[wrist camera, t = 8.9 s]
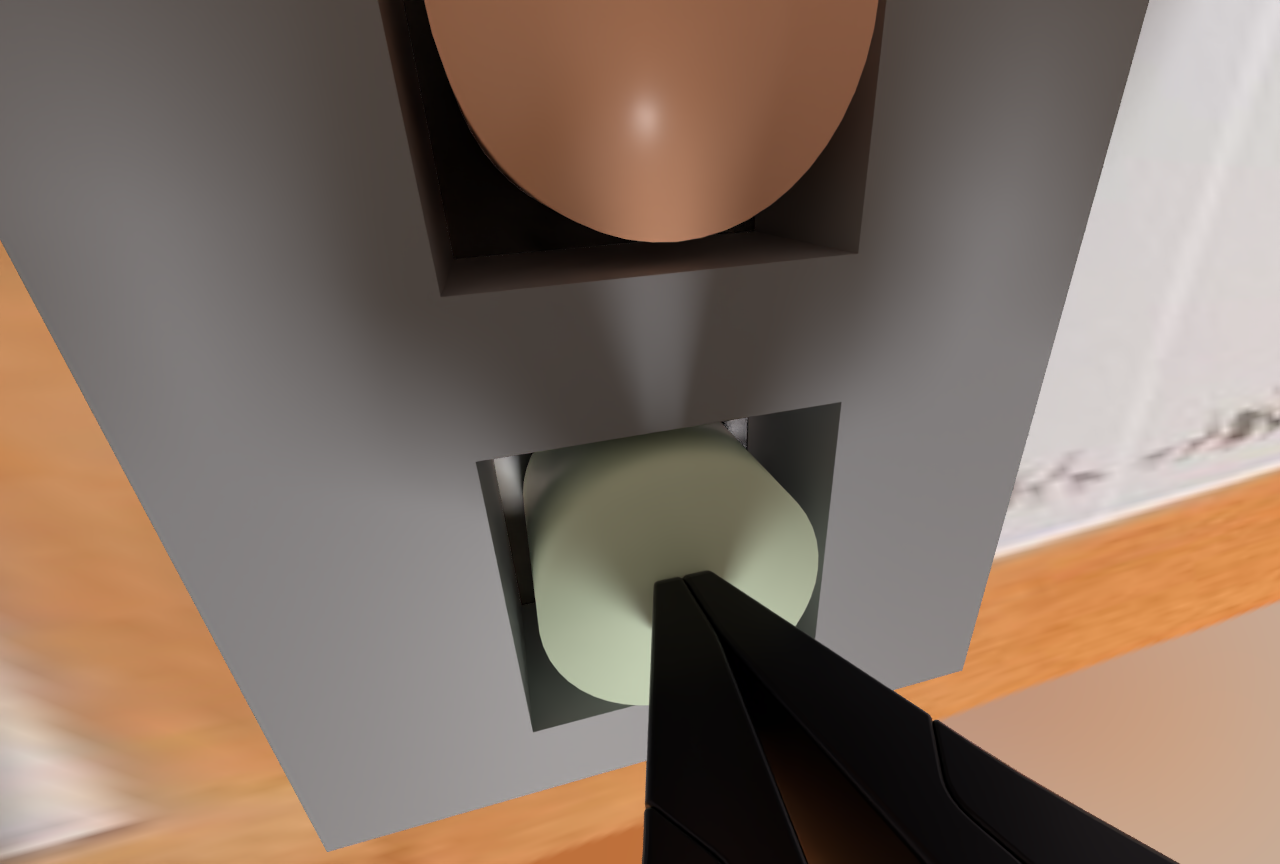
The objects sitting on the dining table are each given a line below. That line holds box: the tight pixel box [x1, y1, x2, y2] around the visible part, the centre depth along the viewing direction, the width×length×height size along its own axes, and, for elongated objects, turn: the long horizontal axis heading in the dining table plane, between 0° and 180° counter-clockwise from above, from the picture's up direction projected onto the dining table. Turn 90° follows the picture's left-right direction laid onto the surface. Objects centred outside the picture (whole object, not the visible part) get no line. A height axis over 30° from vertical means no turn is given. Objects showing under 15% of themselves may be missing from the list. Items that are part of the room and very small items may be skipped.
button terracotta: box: [424, 0, 878, 242], centre depth 6 cm, size 4×4×3 cm
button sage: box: [523, 422, 818, 706], centre depth 9 cm, size 4×4×3 cm
